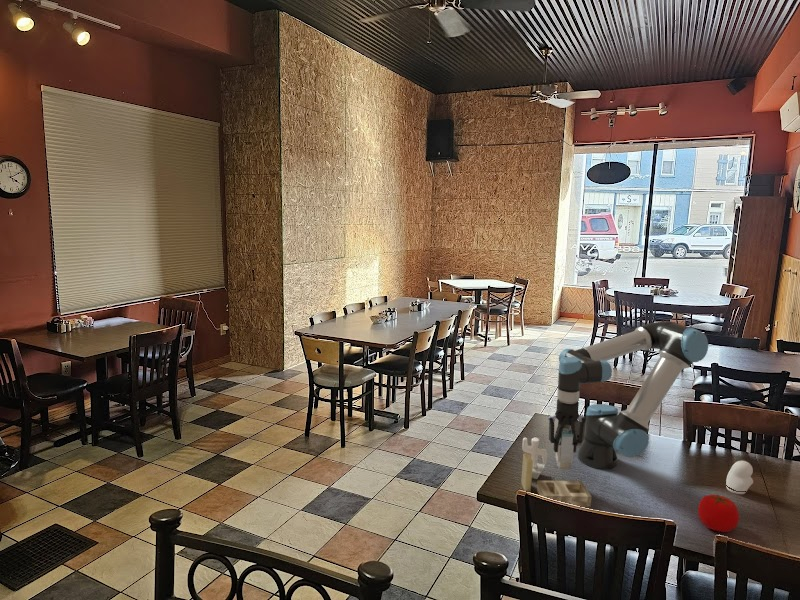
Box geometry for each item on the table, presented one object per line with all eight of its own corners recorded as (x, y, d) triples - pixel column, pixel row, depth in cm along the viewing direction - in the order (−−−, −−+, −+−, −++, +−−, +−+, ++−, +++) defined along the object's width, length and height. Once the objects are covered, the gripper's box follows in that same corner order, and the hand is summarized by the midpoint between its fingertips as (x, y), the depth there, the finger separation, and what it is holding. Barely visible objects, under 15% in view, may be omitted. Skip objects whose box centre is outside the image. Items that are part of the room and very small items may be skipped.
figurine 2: (741, 497, 190) (746, 467, 188) (721, 487, 197) (725, 457, 194) (753, 493, 193) (758, 463, 191) (732, 483, 200) (737, 454, 198)
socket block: (580, 491, 192) (581, 481, 191) (590, 507, 182) (591, 496, 181) (536, 490, 192) (537, 480, 191) (544, 506, 182) (545, 495, 181)
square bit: (567, 463, 197) (569, 428, 194) (571, 469, 193) (573, 433, 190) (556, 463, 197) (558, 428, 194) (559, 469, 193) (561, 433, 190)
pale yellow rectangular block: (526, 483, 196) (528, 453, 194) (530, 491, 191) (532, 461, 188) (521, 483, 196) (523, 453, 194) (525, 491, 191) (527, 461, 188)
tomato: (699, 533, 169) (703, 503, 167) (693, 512, 180) (697, 484, 178) (740, 542, 165) (745, 511, 163) (731, 520, 176) (736, 491, 174)
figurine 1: (543, 482, 197) (546, 445, 194) (518, 476, 201) (520, 439, 198) (547, 474, 203) (550, 438, 200) (523, 468, 207) (525, 432, 205)
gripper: (587, 396, 193) (583, 454, 198) (541, 396, 193) (538, 454, 198) (595, 404, 186) (590, 464, 191) (547, 404, 186) (543, 465, 191)
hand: (564, 459), depth 194 cm, fingers closed on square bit, 4 cm apart
